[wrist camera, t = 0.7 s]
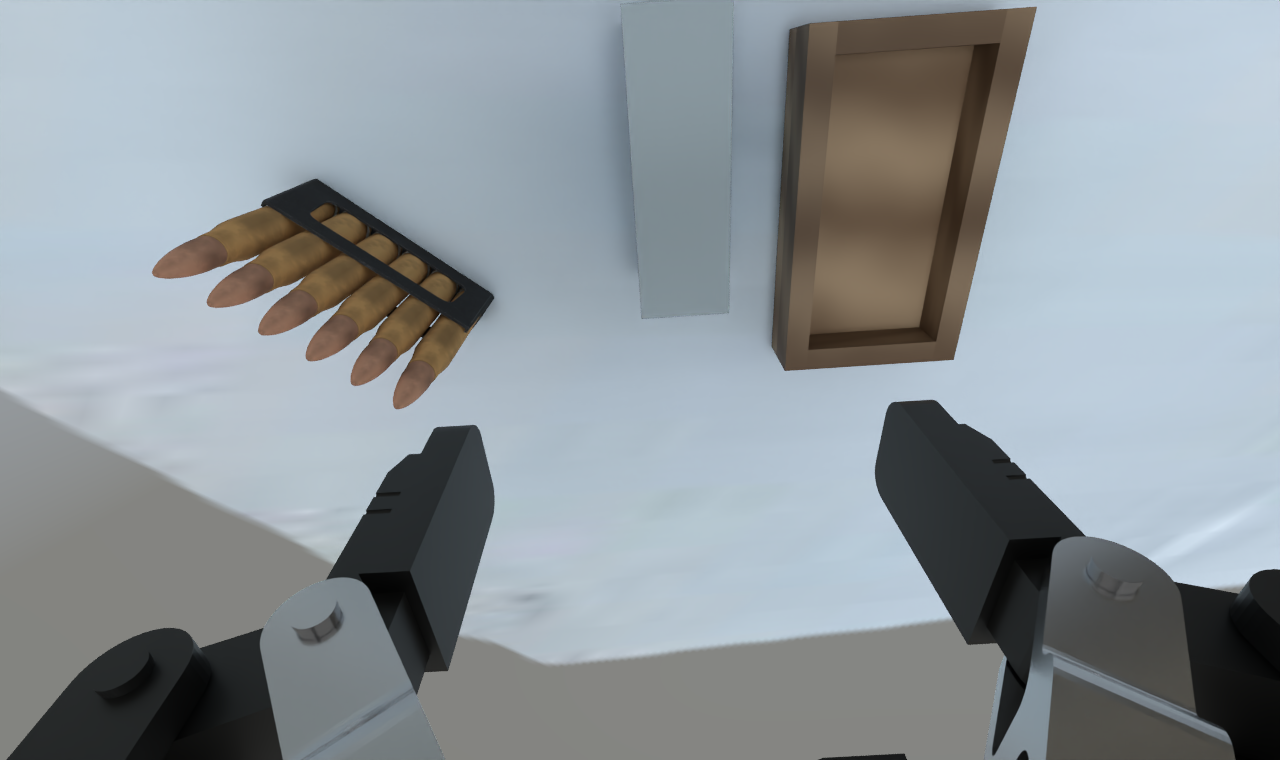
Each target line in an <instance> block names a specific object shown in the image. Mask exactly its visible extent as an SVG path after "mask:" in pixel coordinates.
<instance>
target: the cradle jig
mask: <svg viewBox="0 0 1280 760" xmlns="http://www.w3.org/2000/svg"><path fill="white" fill-rule="evenodd" d="M1036 8H1037V7H1026V8H1013V9H999V10H986V11H972V12H958V13H945V14H931V15H918V16H904V17H891V18H877V19H863V20H850V21H836V22H823V23H810V24H806V25H803V26H800V27H797V28H793V29H790V35H789V53H788V70H787V88H786V105H785V123H784V140H783V158H782V175H781V193H780V210H779V228H778V245H777V263H776V280H775V298H774V315H773V333H772V348H773V350H774V352H775V353H776V355H777V357H778V359H779V361H780V363H781V365H782V366H783V368H784V370H785V371H790V370H805V369H820V368H836V367H851V366H866V365H881V364H896V363H912V362H927V361H942V360H954V356H955V351H956V347H957V343H958V339H959V334H960V330H961V326H962V322H963V317H964V313H965V309H966V305H967V301H968V296H969V292H970V288H971V284H972V279H973V275H974V271H975V267H976V262H977V258H978V254H979V250H980V245H981V241H982V237H983V233H984V229H985V224H986V220H987V216H988V212H989V207H990V203H991V199H992V195H993V190H994V186H995V182H996V178H997V174H998V169H999V165H1000V161H1001V157H1002V152H1003V148H1004V144H1005V140H1006V135H1007V131H1008V127H1009V123H1010V118H1011V114H1012V110H1013V106H1014V102H1015V97H1016V93H1017V89H1018V85H1019V80H1020V76H1021V72H1022V68H1023V63H1024V59H1025V55H1026V51H1027V46H1028V42H1029V38H1030V34H1031V30H1032V25H1033V21H1034V17H1035V13H1036Z"/></svg>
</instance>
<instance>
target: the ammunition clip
mask: <svg viewBox="0 0 1280 760" xmlns="http://www.w3.org/2000/svg"><path fill="white" fill-rule="evenodd" d="M267 205H268V206H267ZM261 206H262V208H260V209H257V210H254V211H251V212H249V213H246V214H243V215H240V216H237V217H235V218H232V219H229V220H227V221H225V222H222V223H220V224H219V225H217V226H216V227H215V228H213V229H212V230H211V231H210V232H207V233H205V234H203V235H201V236H199V237H197V238H195V239H193V240H190V241H188V242H186V243H184V244H182V245H180V246H178V247H177V248H175V249H173V250H171V251H170V252H169V253H167V254H166V255H165V256H164V257H163V258H162V259H160V260H159V261H158V263H157V264H156V265H155V267H154V269H153V271H152V274H153V275H154V276H155V277H158V278H167V279H171V278H182V277H189V276H194V275H197V274H201V273H204V272H207V271H210V270H212V269H214V268H217V267H221V266H224V265H226V264H229V263H232V262H236V261H243V260H248V259H250V258H252V257H254V256H257V255H259V254H260V255H259V256H258V257H257V258H256V259H254V260H253V261H251V262H249V263H247V264H246V265H244V267H242V268H240V269H238V270H236V271H234V272H233V273H231V274H230V275H228V276H227V277H226V278H224V279H223V280H222V281H221V282H220V283H219V284H218V285H217V286H216V287H215V288H214V289H213V290H212V292H211V293H210V295H209V296H208V299H207V305H208V306H210V307H215V308H221V307H230V306H235V305H239V304H243V303H245V302H248V301H250V300H253V299H255V298H257V297H259V296H261V295H263V294H265V293H268V292H270V291H272V290H274V289H276V288H278V287H282V286H287V285H290V284H292V283H294V282H296V281H298V280H300V279H301V278H303V277H305V276H306V275H307V276H306V277H305V278H304V279H303V280H302V281H301V283H300V284H299V285H298V286H297V287H295V288H294V289H293V290H291V291H290V292H289V293H288V294H287V295H286V296H284V297H283V298H281V299H280V300H279V301H278V302H276V303H275V304H274V305H273V306H272V307H271V308H270V309H269V311H268V312H267V313H266V314H265V316H264V317H263V319H262V320H261V322H260V325H259V329H258V332H259V334H261V335H275V334H279V333H283V332H285V331H288V330H290V329H293V328H295V327H297V326H299V325H301V324H303V323H304V322H306V321H307V320H309V319H310V318H312V317H314V316H316V315H317V314H319V313H320V312H322V311H324V310H327V309H330V308H332V307H334V306H336V305H338V304H339V303H340V302H342V301H343V300H344V299H346V298H347V297H348V296H349V297H348V298H347V299H346V300H345V301H344V302H343V303H342V304H341V306H340V307H339V309H338V311H337V312H336V313H335V314H334V315H333V316H332V317H331V318H330V319H329V320H328V321H327V322H326V323H325V324H324V325H323V326H322V327H321V328H320V329H319V330H318V331H317V333H316V334H315V335H314V336H313V338H312V339H311V341H310V343H309V345H308V347H307V351H306V359H307V360H308V361H318V360H322V359H324V358H327V357H329V356H331V355H334V354H336V353H337V352H339V351H340V350H342V349H344V348H345V347H346V346H347V345H349V344H350V343H351V342H352V341H353V340H355V339H357V338H358V337H359V336H360V335H361V334H363V333H364V332H367V331H369V330H371V329H373V328H374V327H375V326H376V325H377V324H378V323H379V322H381V321H382V320H383V319H384V318H385V317H386V316H387V317H388V318H387V319H386V320H385V321H384V322H383V323H382V324H381V325H380V326H379V328H378V331H377V333H376V335H375V336H374V338H373V339H372V340H371V341H370V342H369V345H368V346H367V347H366V348H365V349H364V350H363V351H362V353H361V354H360V356H359V357H358V359H357V360H356V362H355V364H354V367H353V370H352V373H351V384H352V385H354V386H358V385H362V384H365V383H367V382H369V381H371V380H373V379H375V378H376V377H378V376H379V375H380V374H382V373H383V372H384V371H385V370H386V369H387V368H388V367H389V366H390V365H391V364H392V363H393V362H394V361H395V360H396V359H397V358H398V357H399V356H400V355H401V354H403V353H405V352H407V351H408V350H409V349H410V348H411V347H412V346H413V345H414V344H415V343H416V342H417V341H418V339H419V338H420V337H422V340H421V341H420V342H419V344H418V345H417V346H416V348H415V351H414V354H413V357H412V359H411V360H410V362H409V363H408V365H407V368H406V369H405V370H404V372H403V373H402V375H401V377H400V379H399V381H398V383H397V386H396V388H395V392H394V396H393V405H394V408H395V409H401V408H404V407H406V406H408V405H410V404H411V403H413V402H414V401H416V400H417V399H418V398H419V397H420V396H421V395H422V394H423V393H424V392H425V391H426V390H427V389H428V387H429V386H430V384H431V383H432V382H433V381H434V380H435V378H436V377H437V376H438V374H440V373H441V372H442V371H444V370H445V369H446V368H447V367H448V365H449V364H450V362H451V361H452V359H453V358H454V356H455V355H456V353H457V351H458V350H459V348H460V347H461V345H462V344H463V342H464V341H465V339H466V337H467V336H468V334H469V333H470V331H471V330H472V329H473V327H474V326H475V325H476V324H477V322H478V321H479V320H480V318H481V317H482V315H483V314H484V312H485V311H486V309H487V308H488V306H489V305H490V303H491V302H492V300H493V299H494V297H493V295H492V294H491V293H490V292H488V291H487V290H485V289H484V288H482V287H481V286H479V285H478V284H476V283H475V282H473V281H472V280H470V279H468V278H467V277H465V276H464V275H462V274H461V273H459V272H458V271H456V270H455V269H453V268H452V267H450V266H449V265H447V264H446V263H444V262H443V261H441V260H439V259H438V258H436V257H435V256H433V255H432V254H430V253H429V252H427V251H426V250H424V249H423V248H421V247H420V246H418V245H417V244H415V243H414V242H412V241H411V240H409V239H407V238H406V237H404V236H403V235H401V234H400V233H398V232H397V231H395V230H394V229H392V228H391V227H389V226H388V225H386V224H385V223H383V222H382V221H380V220H378V219H377V218H375V217H374V216H372V215H371V214H369V213H368V212H366V211H365V210H363V209H362V208H360V207H359V206H357V205H356V204H354V203H353V202H351V201H350V200H348V199H346V198H345V197H343V196H342V195H340V194H339V193H337V192H336V191H334V190H333V189H331V188H330V187H328V186H327V185H325V184H324V183H322V182H321V181H319V180H317V179H313V180H311V181H309V182H306V183H304V184H301V185H299V186H296V187H294V188H292V189H289V190H287V191H284V192H282V193H280V194H277V195H275V196H272V197H270V198H268V199H265V200H263V202H262V204H261ZM409 294H410V295H409ZM408 295H409V296H408ZM407 296H408V297H407ZM405 297H407V298H406V299H405V300H404V301H403V302H402V303H401V304H400V305H399V306H398V307H396V306H397V305H398V304H399V303H400V302H401V301H402V300H403V299H404V298H405ZM440 313H441V315H440V316H439V318H438V319H437V320H436V322H435V323H434V324H433V325H432V327H429V326H430V325H431V324H432V322H433V321H434V320H435V319H436V318H437V316H438V315H439V314H440Z"/></svg>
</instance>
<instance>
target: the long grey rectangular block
mask: <svg viewBox="0 0 1280 760" xmlns="http://www.w3.org/2000/svg"><path fill="white" fill-rule="evenodd" d="M733 9H734V0H667V1H654V2H641V3H627V4H621V19H622V34H623V49H624V64H625V78H626V93H627V108H628V123H629V138H630V153H631V168H632V183H633V198H634V213H635V228H636V243H637V258H638V273H639V287H640V302H641V317H642V319H649V318H664V317H679V316H694V315H709V314H724V313H729V269H730V204H731V139H732V74H733Z"/></svg>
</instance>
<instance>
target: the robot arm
mask: <svg viewBox="0 0 1280 760" xmlns="http://www.w3.org/2000/svg"><path fill="white" fill-rule="evenodd" d="M875 479H876V484H877V488H878V492H879V494H880V496H881V498H882V500H883V502H884V503H885V505H886V507H887V508H888V510H889V512H890V513H891V515H892V517H893V519H894V520H895V522H896V524H897V525H898V527H899V529H900V530H901V532H902V534H903V536H904V537H905V539H906V541H907V542H908V544H909V546H910V547H911V549H912V551H913V553H914V554H915V556H916V558H917V559H918V561H919V563H920V564H921V566H922V568H923V570H924V571H925V573H926V575H927V576H928V578H929V580H930V581H931V583H932V585H933V586H934V588H935V590H936V592H937V593H938V595H939V597H940V598H941V600H942V602H943V603H944V605H945V607H946V609H947V610H948V612H949V614H950V615H951V617H952V619H953V620H954V622H955V624H956V625H957V627H958V629H959V631H960V632H961V634H962V636H963V637H964V639H965V641H966V643H967V644H968V645H971V644H989V643H997V644H998V645H999V647H1000V648H1001V650H1002V651H1003V653H1004V655H1005V656H1004V658H1003V661H1002V663H1001V666H1000V669H999V674H998V680H997V685H996V692H995V698H994V703H993V709H992V715H991V721H990V726H989V733H988V738H987V744H986V749H985V755H984V760H1280V570H1277V569H1272V570H1263V571H1260V572H1257V573H1256V574H1254V575H1253V576H1252V577H1251V578H1250V580H1249V581H1248V582H1247V584H1246V585H1245V587H1244V588H1243V589H1242V591H1241V592H1240V593H1239V594H1237V593H1231V592H1226V591H1221V590H1215V589H1210V588H1204V587H1199V586H1194V585H1188V584H1183V583H1177V582H1174V581H1173V580H1172V579H1171V577H1170V576H1169V575H1168V574H1167V573H1166V572H1165V571H1164V570H1163V569H1161V568H1160V567H1159V566H1158V565H1156V564H1155V563H1154V562H1152V561H1151V560H1149V559H1148V558H1146V557H1145V556H1143V555H1141V554H1139V553H1138V552H1136V551H1134V550H1132V549H1130V548H1127V547H1125V546H1123V545H1120V544H1117V543H1115V542H1112V541H1108V540H1104V539H1100V538H1095V537H1086V536H1085V535H1084V534H1083V533H1082V532H1081V531H1080V530H1079V529H1078V528H1077V527H1076V526H1075V525H1074V524H1073V523H1072V521H1071V520H1070V519H1069V518H1068V517H1067V516H1066V515H1065V514H1064V513H1063V512H1062V511H1061V510H1060V509H1059V508H1058V507H1057V506H1056V505H1055V504H1054V503H1053V502H1052V501H1051V500H1050V499H1049V498H1048V497H1047V496H1046V495H1045V494H1044V493H1043V492H1042V491H1041V490H1040V489H1039V488H1038V487H1037V486H1036V484H1035V483H1034V482H1033V481H1032V480H1031V479H1026V474H1025V473H1024V472H1023V471H1022V470H1021V469H1020V468H1019V467H1018V466H1017V465H1016V464H1015V463H1014V462H1013V463H1011V462H1010V458H1009V457H1008V456H1007V455H1006V454H1005V453H1004V452H1003V451H1002V450H1001V448H1000V447H999V446H998V445H997V444H996V443H995V442H994V441H993V440H992V439H990V438H988V437H987V436H985V435H983V434H981V433H980V432H978V431H976V430H975V429H973V428H971V427H969V426H968V425H966V424H958V423H957V422H956V421H955V420H954V419H953V418H952V417H951V416H950V415H949V414H948V413H947V411H946V410H945V409H944V408H943V407H942V406H941V405H940V404H939V403H938V402H937V401H935V400H922V401H905V402H893V403H891V404H890V405H889V407H888V409H887V412H886V416H885V421H884V426H883V430H882V435H881V440H880V445H879V450H878V455H877V460H876V465H875ZM366 511H367V513H366V515H363V517H362V518H361V520H360V522H359V524H358V525H357V527H356V529H355V531H354V532H353V534H352V536H351V537H350V539H349V541H348V543H347V544H346V546H345V548H344V550H343V551H342V553H341V555H340V556H339V558H338V560H337V562H336V563H335V565H334V567H333V569H332V570H331V572H330V574H329V576H328V577H327V579H326V580H324V581H321V582H318V583H315V584H313V585H311V586H309V587H306V588H305V589H303V590H301V591H299V592H298V593H296V594H295V595H293V596H292V597H290V598H289V599H288V600H287V601H285V602H284V603H283V604H282V605H281V606H280V607H279V608H278V609H277V610H276V611H275V612H274V613H273V615H272V616H271V617H270V618H269V620H268V621H267V623H266V625H265V626H264V628H262V629H259V630H257V631H253V632H250V633H247V634H244V635H240V636H237V637H234V638H231V639H228V640H225V641H221V642H218V643H215V644H212V645H209V646H206V647H202V648H199V647H198V645H197V644H196V643H195V641H194V640H193V639H192V637H191V636H190V635H189V634H188V633H187V632H186V631H183V630H181V629H175V628H163V629H157V630H152V631H149V632H145V633H142V634H140V635H137V636H135V637H132V638H130V639H128V640H126V641H124V642H122V643H120V644H118V645H117V646H115V647H113V648H112V649H110V650H108V651H107V652H105V653H104V654H102V655H101V656H100V657H98V658H97V659H96V660H94V661H93V662H92V663H91V664H89V665H88V666H87V667H86V668H85V669H84V670H83V671H82V672H80V673H79V674H78V676H77V677H76V678H75V679H74V680H73V681H72V682H71V683H70V684H69V686H68V687H67V688H66V689H65V690H64V691H63V693H62V694H61V695H60V696H59V697H58V699H57V700H56V701H55V702H54V704H53V705H52V706H51V707H50V708H49V709H48V711H47V712H46V713H45V714H44V715H43V717H42V718H41V719H40V720H39V721H38V723H37V724H36V725H35V726H34V728H33V729H32V730H31V731H30V732H29V734H28V735H27V736H26V737H25V738H24V740H23V741H22V742H21V743H20V744H19V745H18V747H17V748H16V749H15V750H14V752H13V753H12V754H11V755H10V756H9V757H8V759H7V760H445V758H444V755H443V753H442V751H441V749H440V746H439V744H438V742H437V740H436V738H435V735H434V733H433V731H432V728H431V726H430V724H429V722H428V720H427V717H426V715H425V713H424V711H423V709H422V706H421V704H420V702H419V699H418V697H417V693H418V690H419V686H420V683H421V680H422V677H423V674H424V672H436V671H448V669H449V666H450V662H451V659H452V655H453V652H454V649H455V645H456V642H457V638H458V635H459V631H460V628H461V625H462V621H463V618H464V614H465V611H466V607H467V604H468V600H469V597H470V594H471V590H472V587H473V583H474V580H475V576H476V573H477V570H478V566H479V563H480V559H481V556H482V552H483V549H484V545H485V542H486V539H487V535H488V532H489V528H490V525H491V521H492V518H493V513H494V488H493V483H492V479H491V474H490V470H489V466H488V462H487V458H486V454H485V450H484V446H483V442H482V437H481V434H480V431H479V429H478V427H477V426H476V425H467V426H449V427H437V428H435V429H434V430H433V432H432V434H431V436H430V437H429V439H428V441H427V443H426V445H425V447H424V449H423V451H422V453H421V454H409V455H408V456H407V457H405V458H404V459H403V460H402V461H401V462H400V463H399V464H397V465H396V466H395V467H394V468H393V469H392V470H390V471H389V472H388V473H387V475H386V477H385V479H384V480H383V482H382V484H381V486H380V487H379V489H378V491H377V492H376V497H374V498H373V499H372V501H371V503H370V505H369V506H368V508H367V510H366ZM819 760H907V759H906V756H905V754H889V755H870V756H851V757H833V758H822V759H819Z"/></svg>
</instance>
